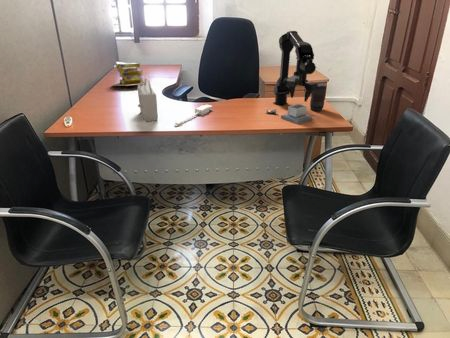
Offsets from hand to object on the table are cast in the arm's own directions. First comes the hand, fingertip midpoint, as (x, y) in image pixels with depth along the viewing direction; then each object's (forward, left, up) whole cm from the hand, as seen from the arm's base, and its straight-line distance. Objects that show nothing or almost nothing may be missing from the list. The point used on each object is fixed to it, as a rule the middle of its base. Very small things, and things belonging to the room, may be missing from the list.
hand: (298, 99), depth 185 cm
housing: (0, 0, -9) cm, 9 cm away
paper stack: (-120, -41, -11) cm, 128 cm away
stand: (0, 0, -11) cm, 11 cm away
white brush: (-37, -42, -11) cm, 58 cm away
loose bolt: (-15, -5, -11) cm, 19 cm away
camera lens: (-3, +21, -11) cm, 24 cm away
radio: (-54, -62, -11) cm, 83 cm away
